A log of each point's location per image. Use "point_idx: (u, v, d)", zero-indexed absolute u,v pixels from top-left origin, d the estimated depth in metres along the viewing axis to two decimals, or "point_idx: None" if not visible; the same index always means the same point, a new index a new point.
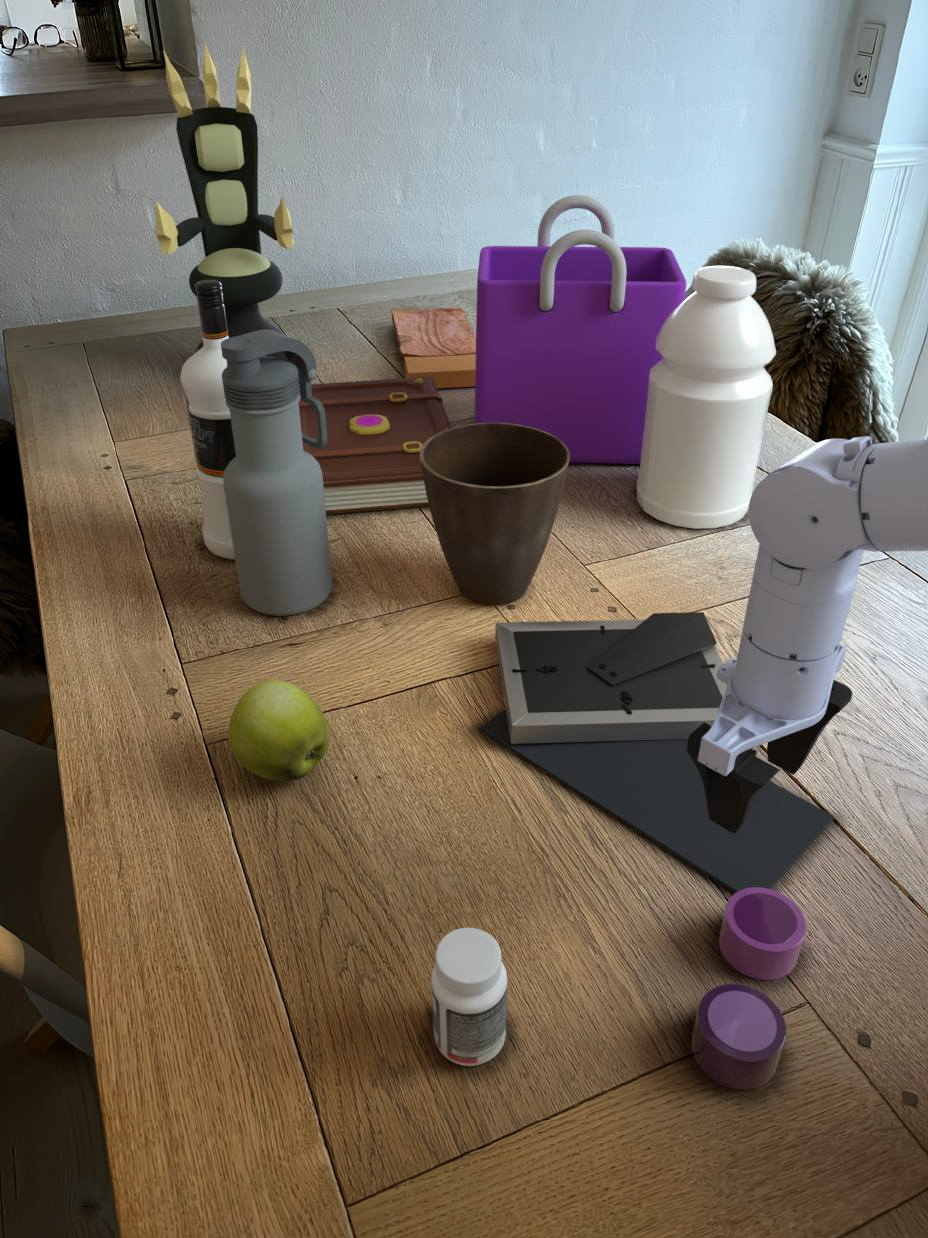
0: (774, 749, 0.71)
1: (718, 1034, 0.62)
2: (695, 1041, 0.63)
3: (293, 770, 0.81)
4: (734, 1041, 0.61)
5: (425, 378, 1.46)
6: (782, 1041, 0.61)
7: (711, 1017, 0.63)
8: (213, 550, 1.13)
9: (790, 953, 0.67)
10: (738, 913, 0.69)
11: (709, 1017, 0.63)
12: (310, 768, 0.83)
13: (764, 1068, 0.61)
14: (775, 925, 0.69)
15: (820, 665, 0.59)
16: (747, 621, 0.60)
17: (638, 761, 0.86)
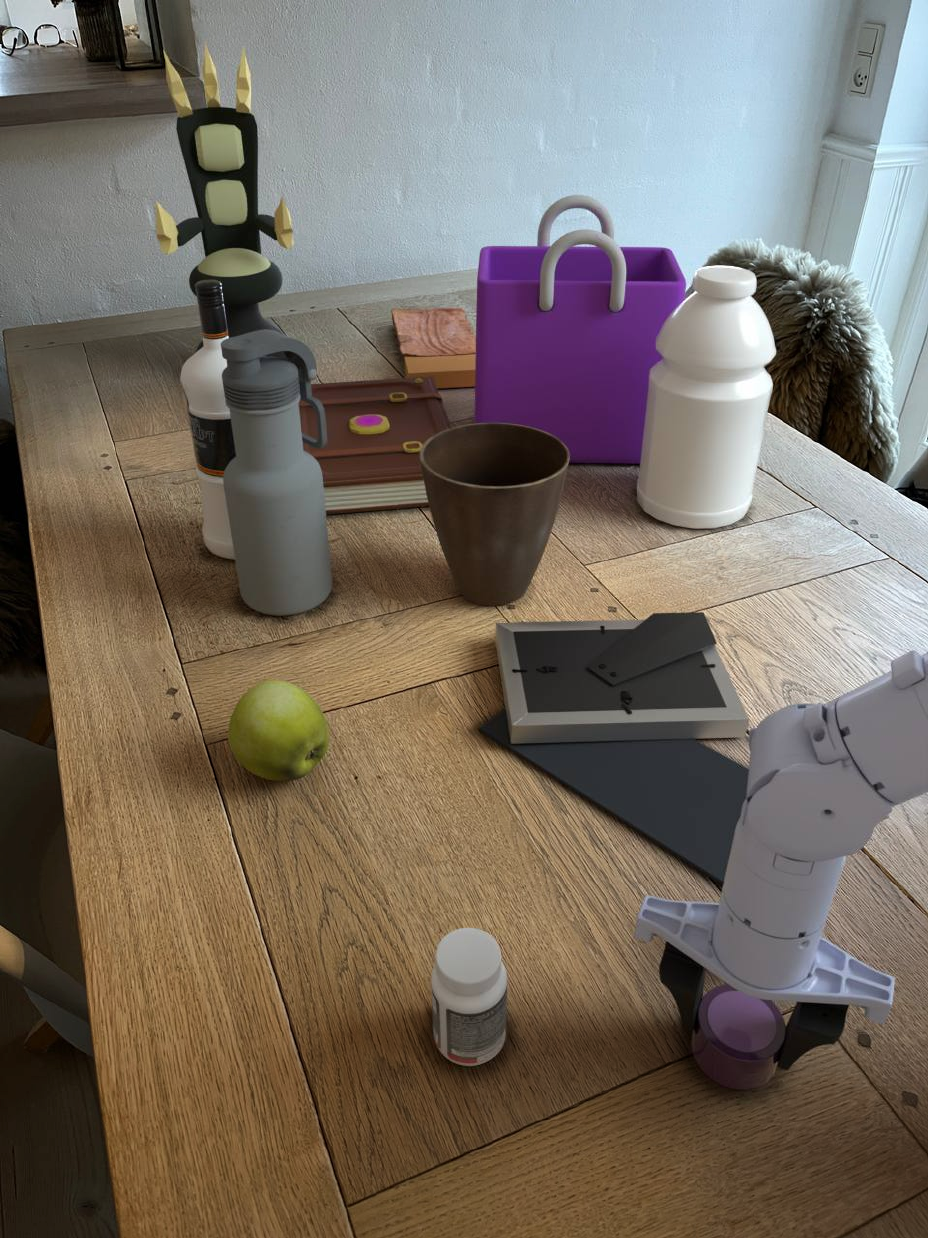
0: None
1: (718, 1034, 0.62)
2: (695, 1041, 0.64)
3: (293, 770, 0.81)
4: (734, 1041, 0.61)
5: (425, 378, 1.45)
6: (782, 1041, 0.61)
7: (711, 1017, 0.63)
8: (213, 550, 1.13)
9: None
10: None
11: (708, 1017, 0.63)
12: (310, 768, 0.83)
13: (763, 1068, 0.61)
14: None
15: (744, 930, 0.54)
16: (739, 906, 0.54)
17: (638, 761, 0.86)
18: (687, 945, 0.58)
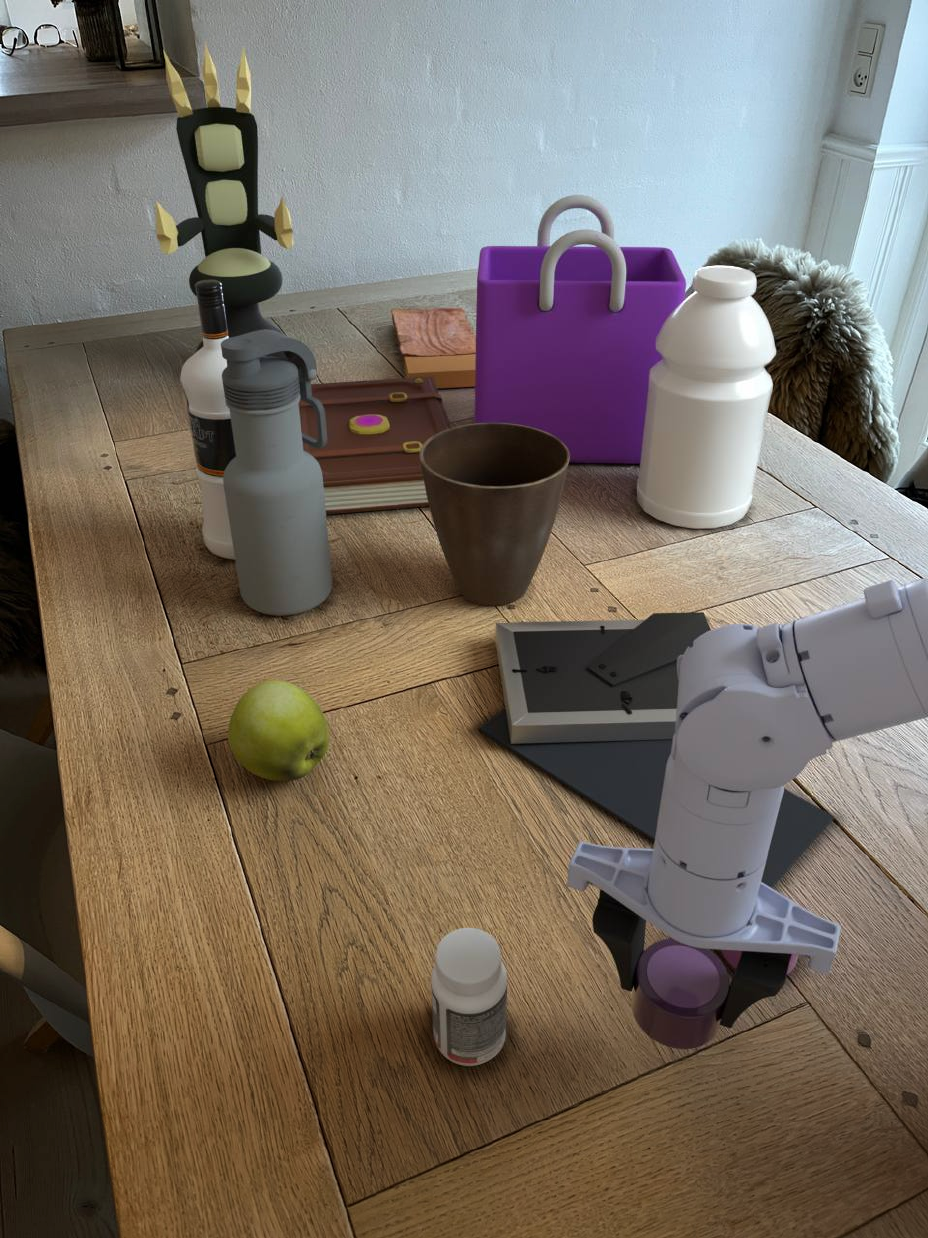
0: None
1: (656, 989, 0.58)
2: (634, 998, 0.60)
3: (293, 770, 0.81)
4: (673, 997, 0.58)
5: (425, 378, 1.45)
6: (724, 997, 0.58)
7: (651, 972, 0.59)
8: (213, 550, 1.13)
9: None
10: None
11: (648, 972, 0.59)
12: (310, 768, 0.83)
13: (704, 1025, 0.57)
14: None
15: (676, 871, 0.51)
16: (673, 847, 0.50)
17: (638, 761, 0.86)
18: (620, 892, 0.55)
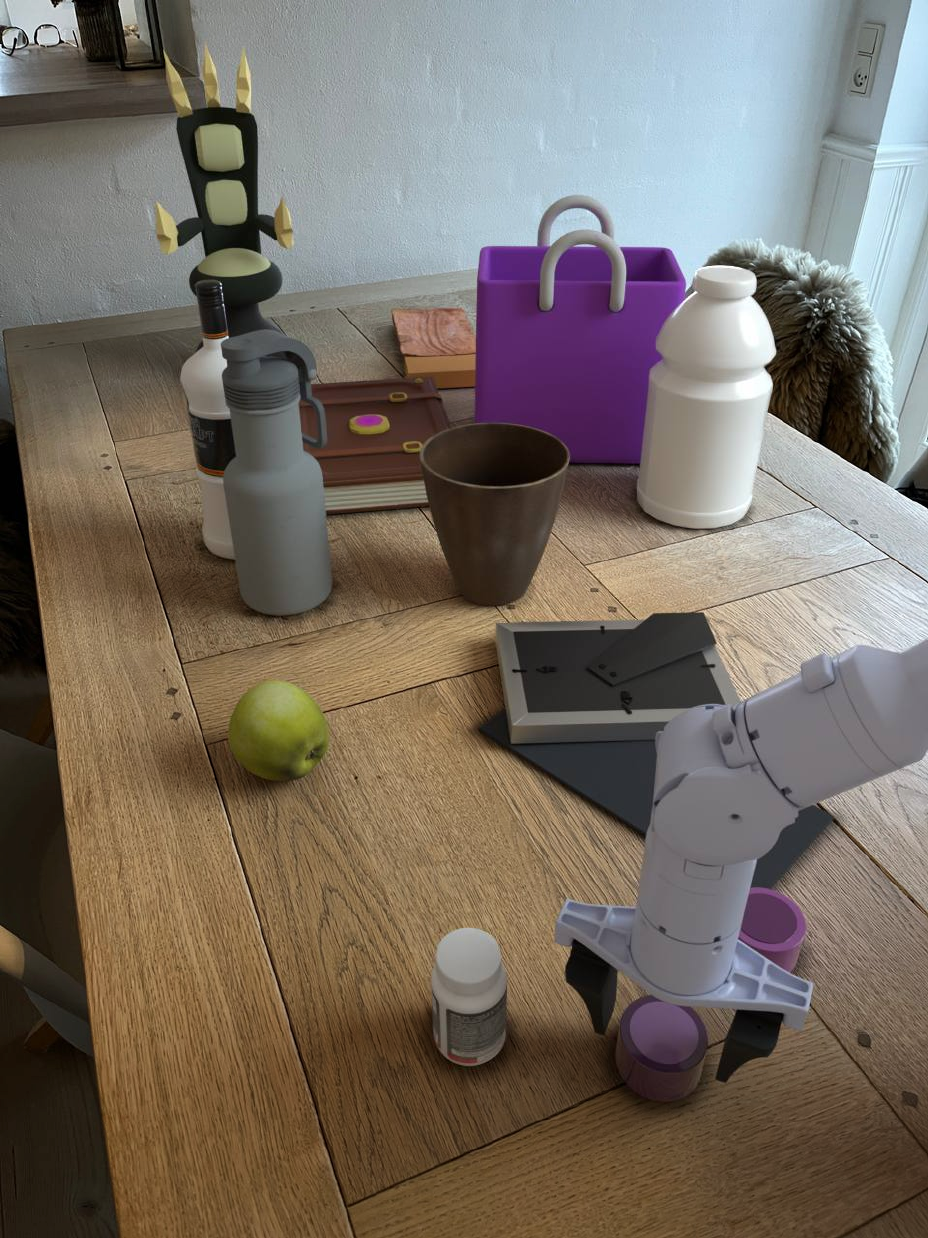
0: (724, 1043, 0.61)
1: (638, 1045, 0.61)
2: (618, 1052, 0.63)
3: (293, 770, 0.81)
4: (654, 1053, 0.61)
5: (425, 378, 1.45)
6: (703, 1053, 0.61)
7: (633, 1028, 0.62)
8: (213, 550, 1.13)
9: (790, 953, 0.67)
10: None
11: (630, 1028, 0.62)
12: (310, 768, 0.83)
13: (684, 1080, 0.60)
14: (775, 925, 0.69)
15: (656, 935, 0.54)
16: (653, 913, 0.53)
17: (638, 761, 0.86)
18: (604, 950, 0.57)
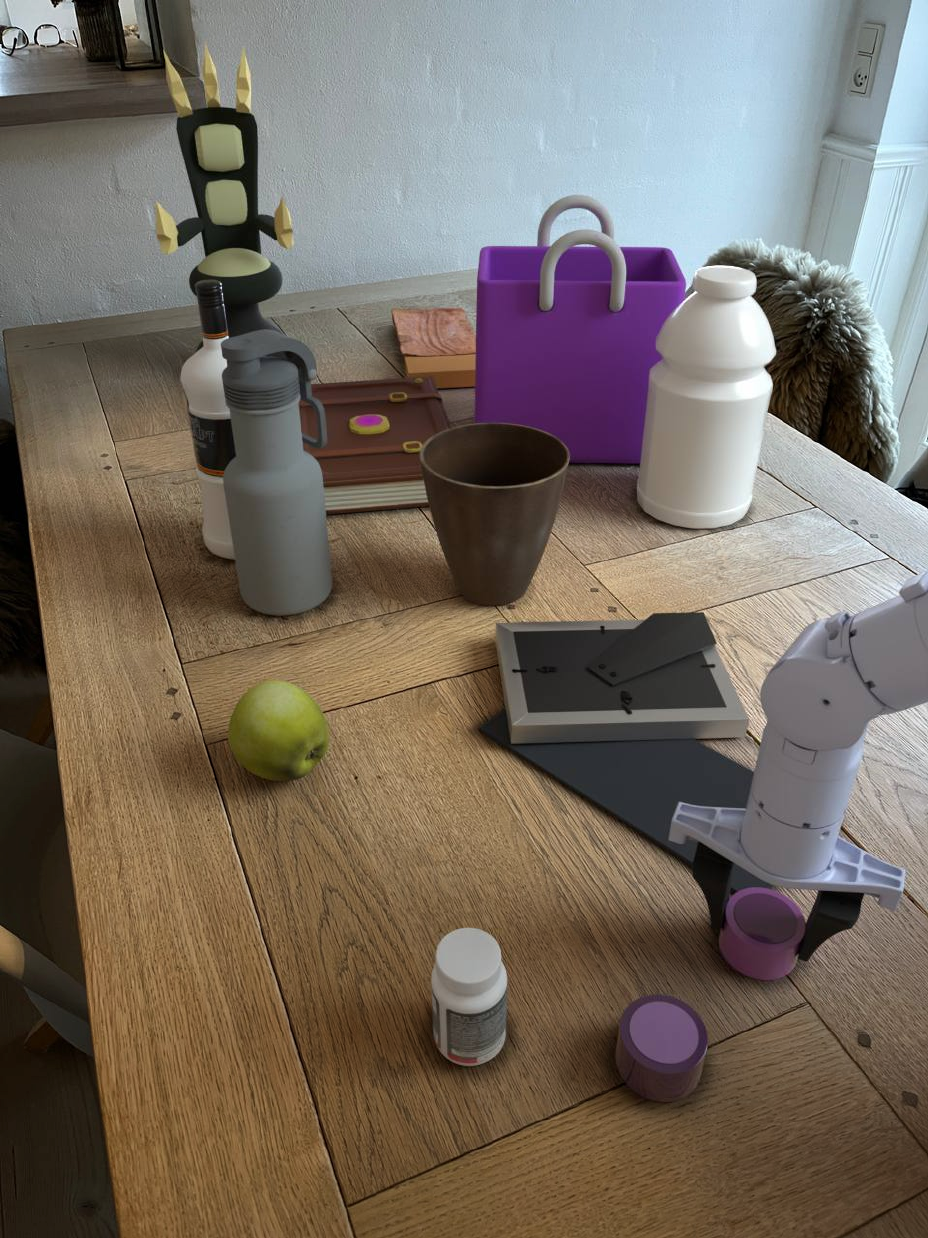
0: None
1: (638, 1045, 0.61)
2: (618, 1052, 0.63)
3: (293, 770, 0.81)
4: (654, 1053, 0.61)
5: (425, 378, 1.45)
6: (703, 1053, 0.61)
7: (633, 1028, 0.62)
8: (213, 550, 1.13)
9: (790, 953, 0.67)
10: (738, 913, 0.69)
11: (630, 1028, 0.62)
12: (310, 768, 0.83)
13: (684, 1080, 0.60)
14: (775, 925, 0.69)
15: (770, 823, 0.61)
16: (757, 789, 0.61)
17: (638, 761, 0.86)
18: (718, 843, 0.65)
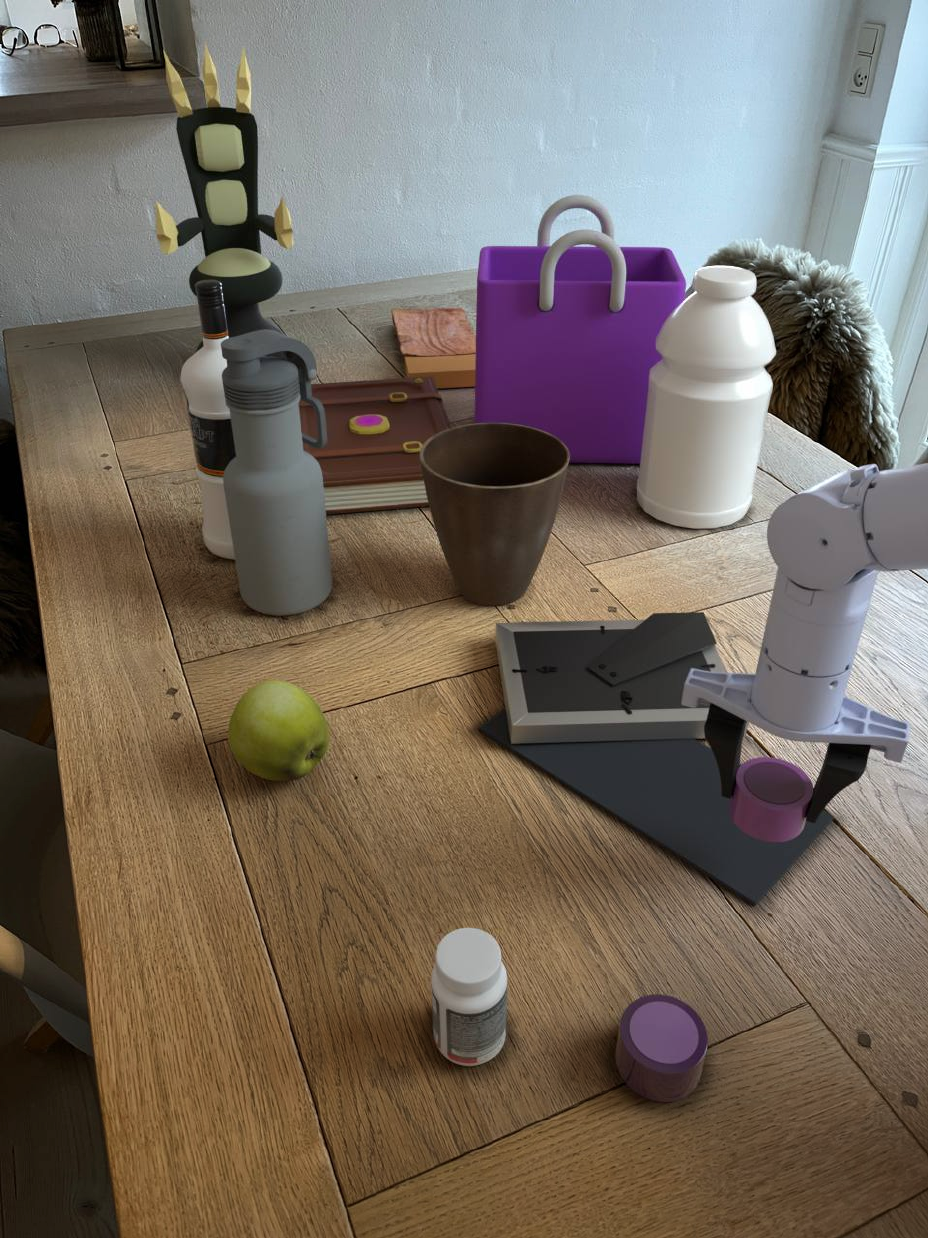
0: None
1: (638, 1045, 0.61)
2: (618, 1052, 0.63)
3: (293, 770, 0.81)
4: (654, 1053, 0.61)
5: (425, 378, 1.45)
6: (703, 1053, 0.61)
7: (633, 1028, 0.62)
8: (213, 550, 1.13)
9: (798, 814, 0.70)
10: (748, 778, 0.72)
11: (630, 1028, 0.62)
12: (310, 768, 0.83)
13: (684, 1080, 0.60)
14: (783, 788, 0.71)
15: (781, 674, 0.63)
16: (765, 636, 0.64)
17: (638, 761, 0.86)
18: (729, 702, 0.67)
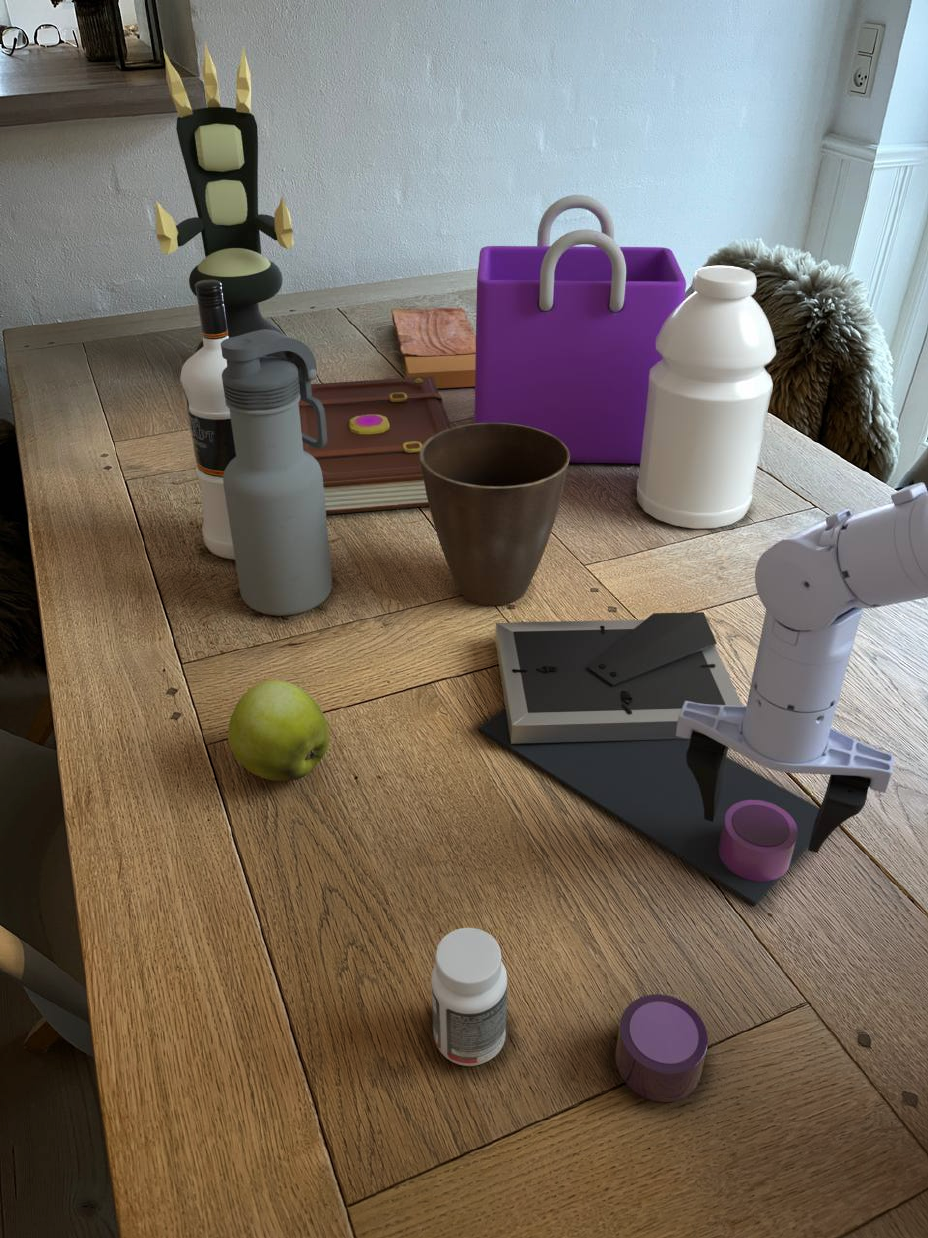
0: (815, 822, 0.74)
1: (638, 1045, 0.61)
2: (618, 1052, 0.63)
3: (293, 770, 0.81)
4: (654, 1053, 0.61)
5: (425, 378, 1.45)
6: (703, 1053, 0.61)
7: (633, 1028, 0.62)
8: (213, 550, 1.13)
9: (783, 856, 0.74)
10: (736, 821, 0.76)
11: (630, 1028, 0.62)
12: (310, 768, 0.83)
13: (684, 1080, 0.60)
14: (769, 831, 0.75)
15: (770, 709, 0.66)
16: (754, 671, 0.67)
17: (638, 761, 0.86)
18: (721, 734, 0.70)
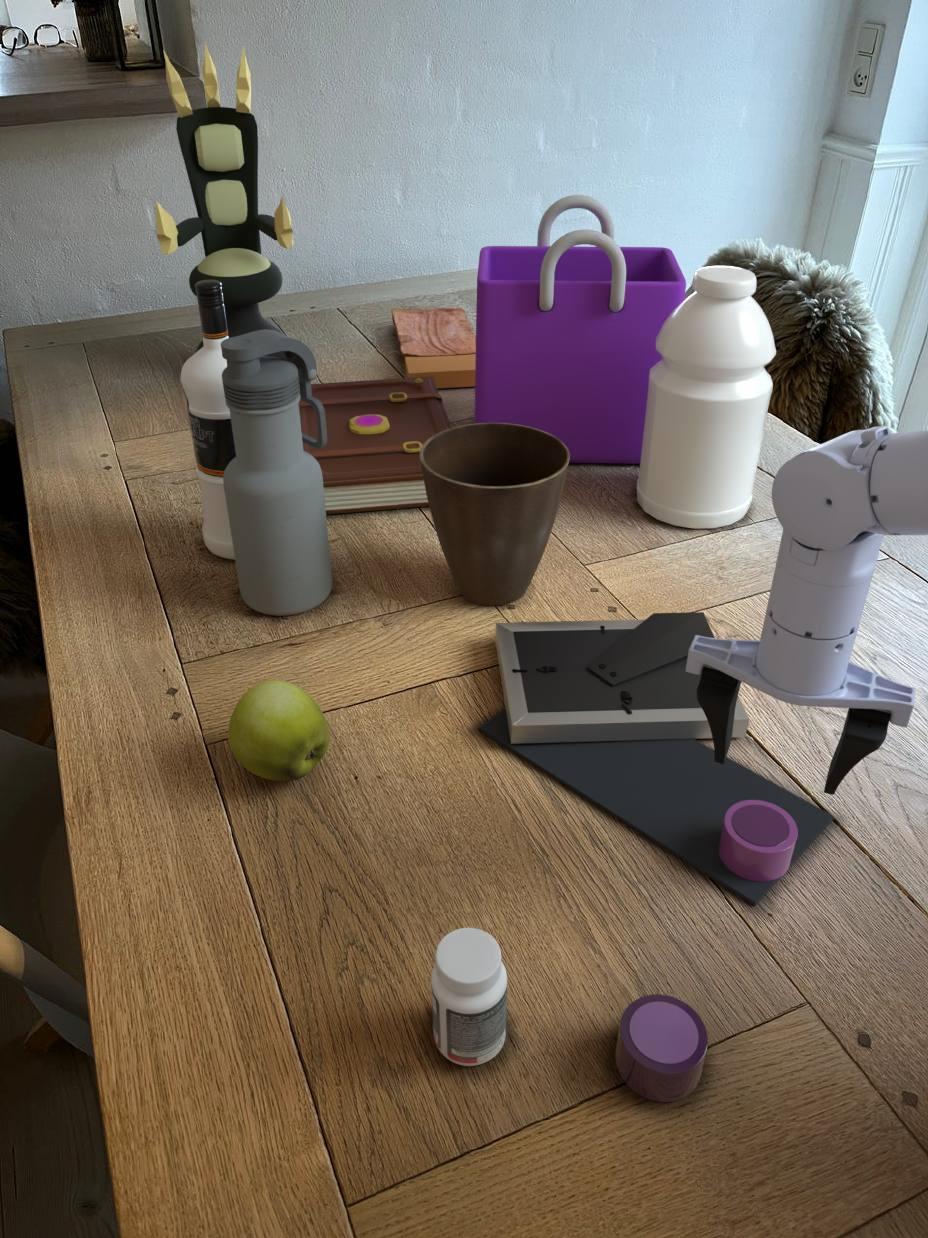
0: (831, 763, 0.71)
1: (638, 1045, 0.61)
2: (618, 1052, 0.63)
3: (293, 770, 0.81)
4: (654, 1053, 0.61)
5: (425, 378, 1.45)
6: (703, 1053, 0.61)
7: (633, 1028, 0.62)
8: (213, 550, 1.13)
9: (783, 856, 0.74)
10: (736, 821, 0.76)
11: (630, 1028, 0.62)
12: (310, 768, 0.83)
13: (684, 1080, 0.60)
14: (769, 831, 0.75)
15: (786, 637, 0.63)
16: (770, 599, 0.64)
17: (638, 761, 0.86)
18: (734, 667, 0.67)
